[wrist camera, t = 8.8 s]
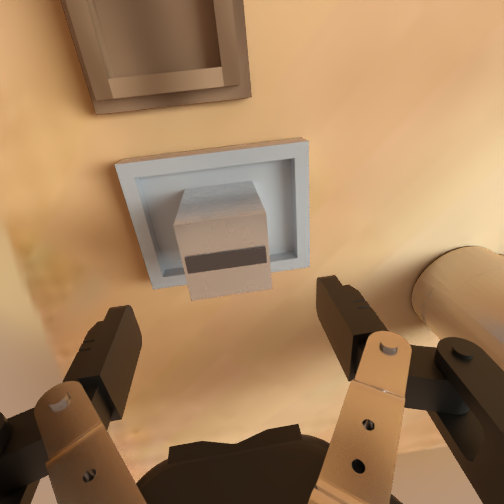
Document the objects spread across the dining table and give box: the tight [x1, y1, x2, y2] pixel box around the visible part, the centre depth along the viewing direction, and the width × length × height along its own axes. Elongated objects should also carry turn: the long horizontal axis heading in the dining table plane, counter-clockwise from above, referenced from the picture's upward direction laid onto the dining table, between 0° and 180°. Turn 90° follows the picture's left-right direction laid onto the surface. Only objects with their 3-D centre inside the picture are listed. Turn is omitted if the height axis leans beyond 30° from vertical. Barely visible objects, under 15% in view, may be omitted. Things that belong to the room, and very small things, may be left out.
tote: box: [115, 137, 310, 289], centre depth 23 cm, size 13×10×2 cm
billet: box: [173, 181, 272, 301], centre depth 20 cm, size 5×5×7 cm
